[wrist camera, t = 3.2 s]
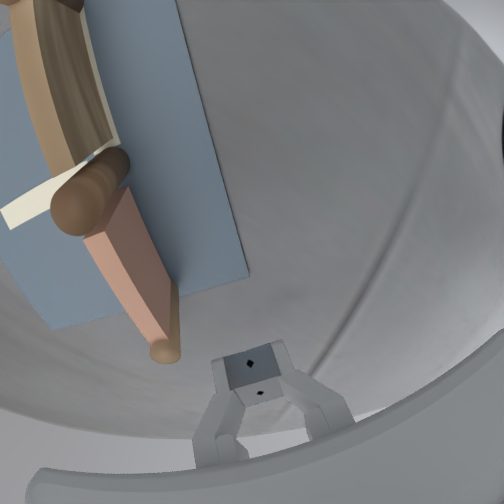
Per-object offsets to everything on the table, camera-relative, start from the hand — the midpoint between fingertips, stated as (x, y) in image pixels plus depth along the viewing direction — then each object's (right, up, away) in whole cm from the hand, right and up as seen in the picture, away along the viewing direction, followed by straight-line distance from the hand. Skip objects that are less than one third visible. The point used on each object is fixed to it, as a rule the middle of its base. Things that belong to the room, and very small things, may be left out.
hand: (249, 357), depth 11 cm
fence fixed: (-9, +14, 0) cm, 17 cm away
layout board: (-12, +9, +3) cm, 15 cm away
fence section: (-7, +4, +6) cm, 10 cm away
